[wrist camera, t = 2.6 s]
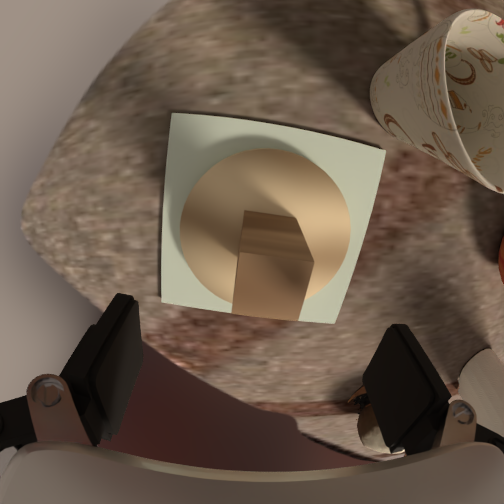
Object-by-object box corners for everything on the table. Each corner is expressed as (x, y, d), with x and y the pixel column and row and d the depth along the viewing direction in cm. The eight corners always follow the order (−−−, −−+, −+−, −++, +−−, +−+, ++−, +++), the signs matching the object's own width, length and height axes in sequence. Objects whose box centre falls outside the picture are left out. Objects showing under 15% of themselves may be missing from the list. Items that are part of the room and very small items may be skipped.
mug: (329, 105, 16) (405, 92, 7) (410, -5, 12) (490, -49, 3) (416, 180, 18) (512, 231, 9) (482, 70, 14) (572, 70, 4)
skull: (442, 346, 24) (464, 427, 19) (416, 349, 33) (435, 413, 29) (338, 394, 25) (363, 475, 21) (336, 384, 35) (357, 447, 30)
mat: (173, 113, 16) (171, 112, 16) (383, 150, 17) (386, 150, 17) (162, 299, 22) (161, 302, 22) (333, 320, 23) (334, 323, 23)
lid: (191, 137, 17) (153, 147, 10) (361, 166, 17) (416, 193, 11) (180, 289, 21) (155, 356, 15) (323, 307, 22) (344, 376, 15)
